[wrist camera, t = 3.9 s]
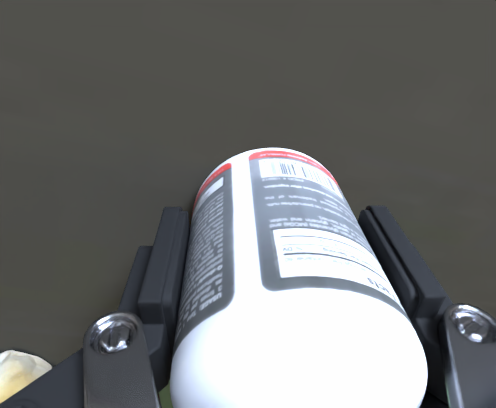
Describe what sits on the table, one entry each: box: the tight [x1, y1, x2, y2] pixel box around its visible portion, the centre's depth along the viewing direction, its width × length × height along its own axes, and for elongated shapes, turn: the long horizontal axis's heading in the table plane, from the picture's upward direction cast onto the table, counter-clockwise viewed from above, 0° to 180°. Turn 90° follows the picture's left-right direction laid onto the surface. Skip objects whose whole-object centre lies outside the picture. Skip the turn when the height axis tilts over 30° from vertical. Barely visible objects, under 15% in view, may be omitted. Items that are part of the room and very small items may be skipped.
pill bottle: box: [170, 148, 427, 408], centre depth 9 cm, size 6×6×10 cm
